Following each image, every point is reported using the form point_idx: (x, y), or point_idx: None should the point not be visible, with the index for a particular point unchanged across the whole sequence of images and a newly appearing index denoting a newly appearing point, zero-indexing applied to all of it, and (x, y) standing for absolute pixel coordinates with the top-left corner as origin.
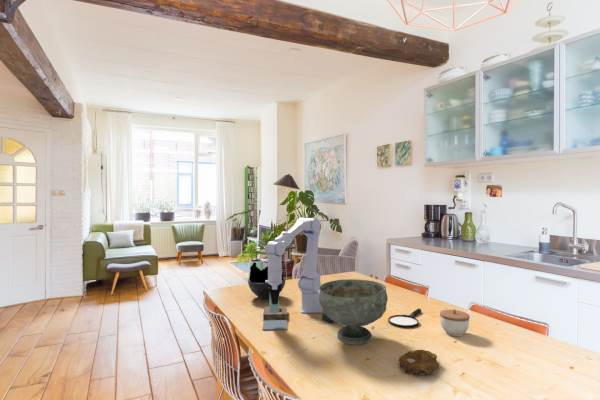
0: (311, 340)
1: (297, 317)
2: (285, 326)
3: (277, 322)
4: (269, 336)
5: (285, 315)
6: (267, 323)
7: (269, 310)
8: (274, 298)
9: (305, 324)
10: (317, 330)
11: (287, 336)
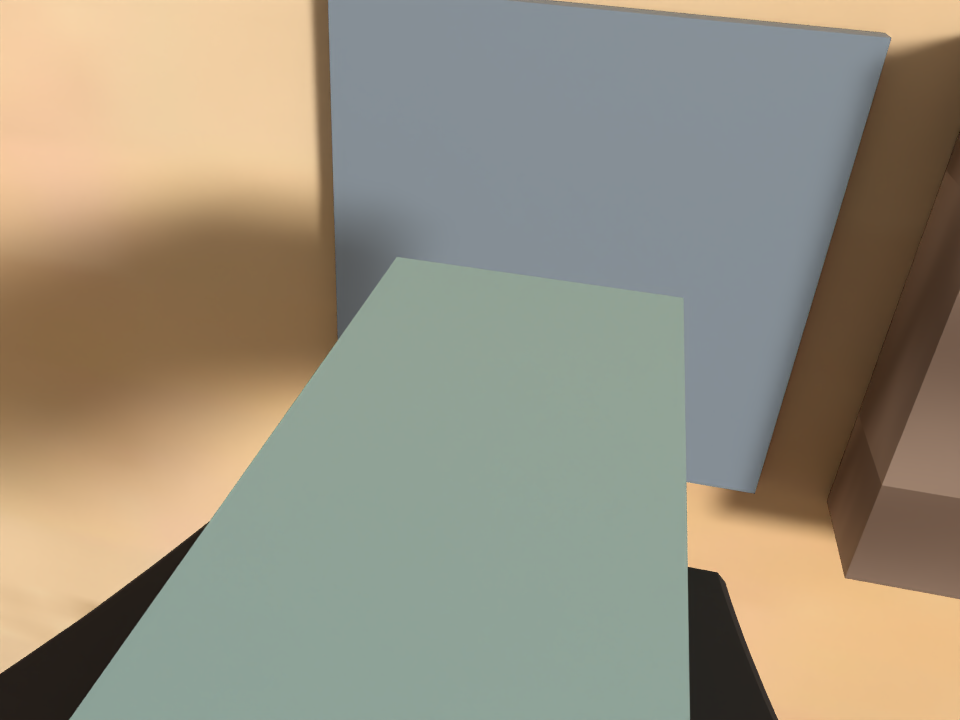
0: (29, 581)
1: (881, 654)
2: None
3: None
4: (69, 101)
5: (848, 529)
6: (647, 117)
7: (379, 290)
8: None
9: None
10: None
11: (105, 368)
